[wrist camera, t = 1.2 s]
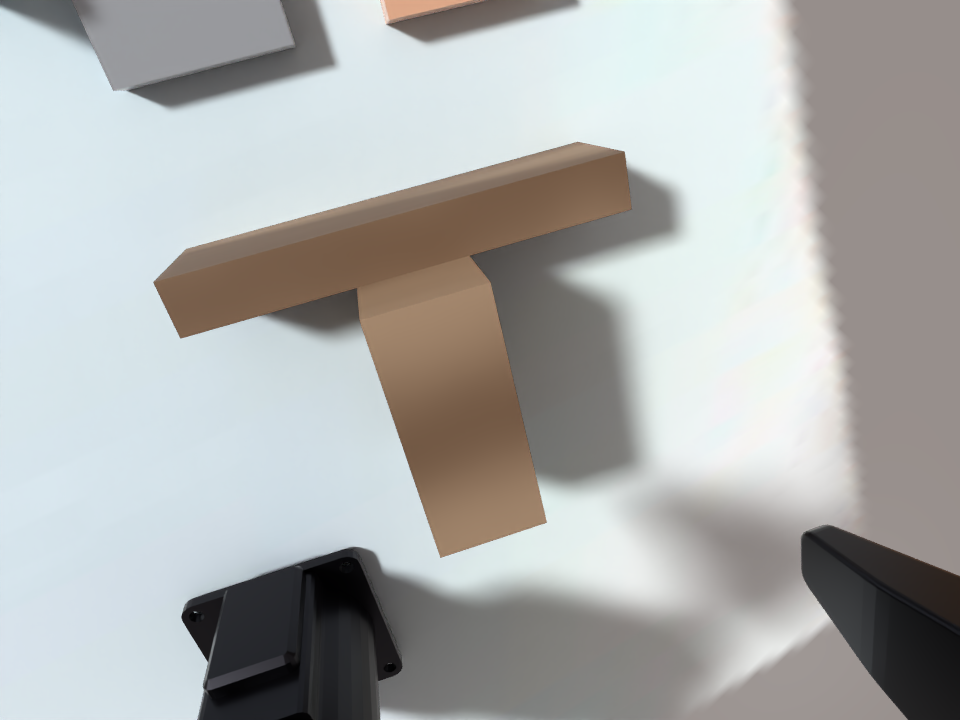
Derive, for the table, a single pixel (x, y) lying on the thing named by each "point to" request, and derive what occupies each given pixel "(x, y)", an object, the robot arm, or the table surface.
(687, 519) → the table surface
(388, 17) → the tile terracotta
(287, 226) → the scraper
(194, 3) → the tile slate
